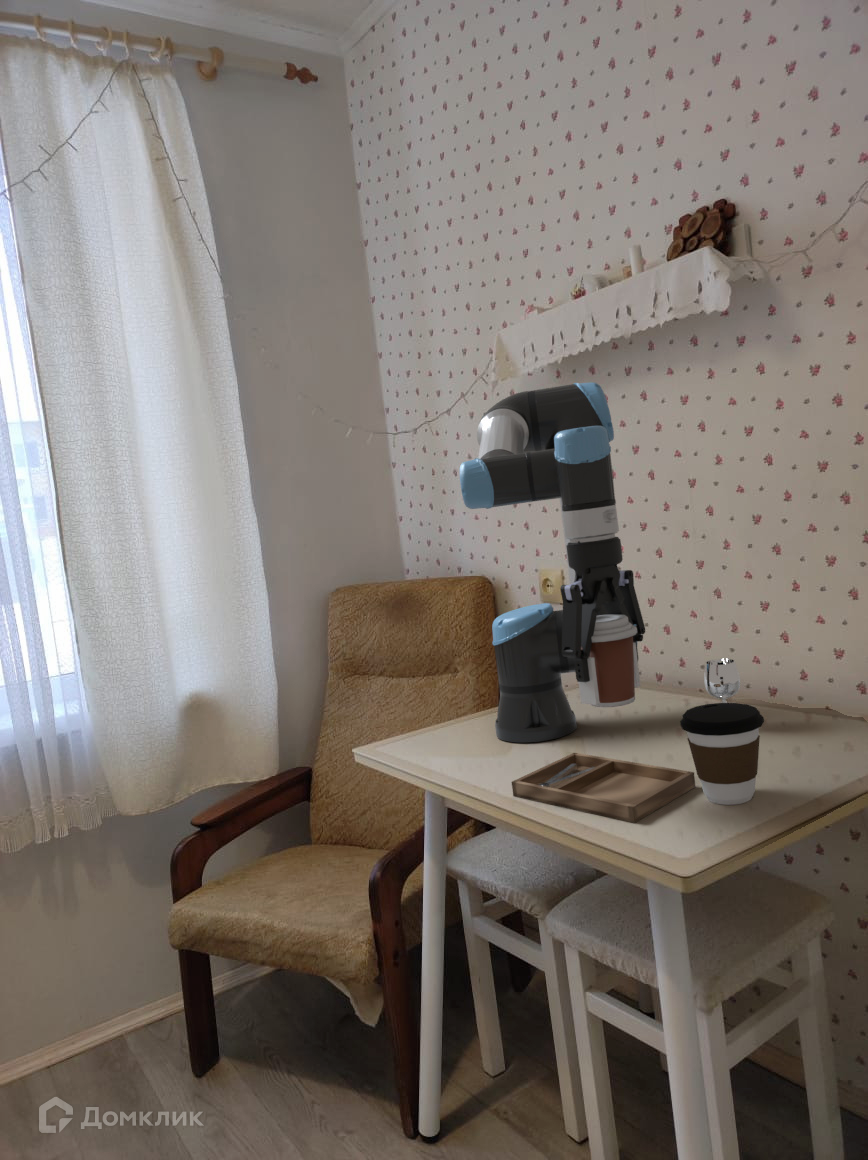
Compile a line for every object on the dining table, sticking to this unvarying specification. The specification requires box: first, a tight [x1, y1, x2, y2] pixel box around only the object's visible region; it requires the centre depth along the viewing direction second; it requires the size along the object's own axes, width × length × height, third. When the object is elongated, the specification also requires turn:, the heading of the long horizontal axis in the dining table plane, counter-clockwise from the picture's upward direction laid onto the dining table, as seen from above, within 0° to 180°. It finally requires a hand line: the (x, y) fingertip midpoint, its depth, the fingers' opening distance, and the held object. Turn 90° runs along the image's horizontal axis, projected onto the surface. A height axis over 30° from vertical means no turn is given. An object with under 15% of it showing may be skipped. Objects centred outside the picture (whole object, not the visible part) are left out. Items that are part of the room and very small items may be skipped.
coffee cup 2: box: [679, 702, 765, 806], centre depth 123 cm, size 11×11×12 cm
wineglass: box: [703, 658, 741, 703], centre depth 152 cm, size 6×6×12 cm
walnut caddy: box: [511, 752, 696, 824], centre depth 132 cm, size 22×15×2 cm
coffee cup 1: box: [581, 614, 637, 708], centre depth 127 cm, size 9×9×12 cm
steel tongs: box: [539, 764, 595, 788], centre depth 136 cm, size 11×5×1 cm, turn 132°
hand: (611, 694), depth 127 cm, fingers closed on coffee cup 1, 9 cm apart
